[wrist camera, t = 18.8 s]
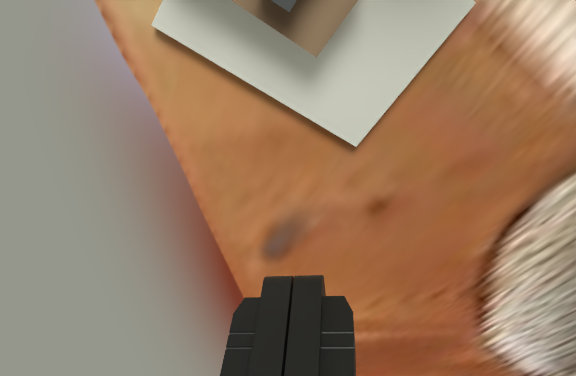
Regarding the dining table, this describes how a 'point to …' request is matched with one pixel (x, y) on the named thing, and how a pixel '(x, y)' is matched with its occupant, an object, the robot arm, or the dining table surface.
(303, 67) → the board
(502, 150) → the dining table surface
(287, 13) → the brown rectangular block
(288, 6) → the block
